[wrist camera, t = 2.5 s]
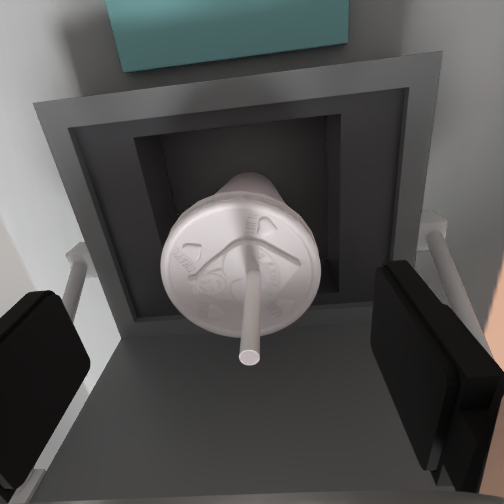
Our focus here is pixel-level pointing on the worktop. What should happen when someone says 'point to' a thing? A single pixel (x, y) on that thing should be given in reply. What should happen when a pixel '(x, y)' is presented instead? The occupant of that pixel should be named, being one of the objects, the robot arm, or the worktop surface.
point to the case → (228, 348)
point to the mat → (220, 29)
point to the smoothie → (241, 263)
